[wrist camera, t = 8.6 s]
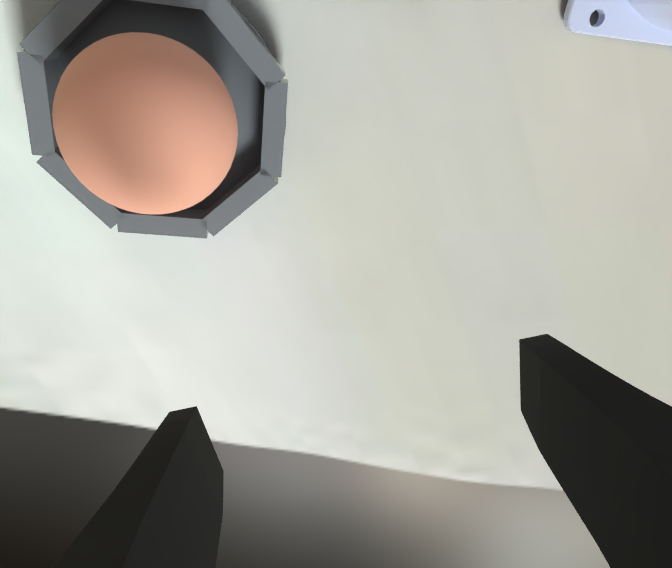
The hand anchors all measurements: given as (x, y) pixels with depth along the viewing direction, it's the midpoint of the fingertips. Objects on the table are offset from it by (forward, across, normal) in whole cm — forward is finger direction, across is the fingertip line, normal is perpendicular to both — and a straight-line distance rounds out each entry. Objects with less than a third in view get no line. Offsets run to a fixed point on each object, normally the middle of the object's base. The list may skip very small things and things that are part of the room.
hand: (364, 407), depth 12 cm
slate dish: (+10, +4, -6) cm, 13 cm away
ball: (+10, +5, -6) cm, 12 cm away
